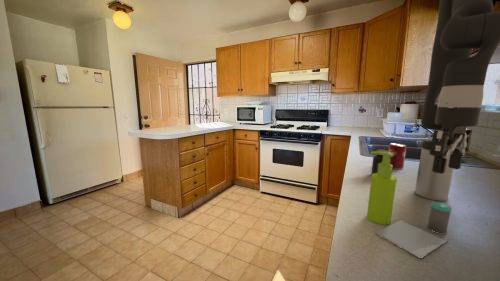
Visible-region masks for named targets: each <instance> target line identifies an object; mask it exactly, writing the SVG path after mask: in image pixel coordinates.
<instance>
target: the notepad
mask: <svg viewBox="0 0 500 281" xmlns="http://www.w3.org/2000/svg"><path fill="white" fill-rule="evenodd" d="M376 234H378V235H380V236H382V237H383V238H386V239H387V240H389V241H391V242H393V243H395V244H397V245H399V246H401V247H402V248H405V249H406V250H408V251H411V252H413V251H414V250H416V249H417V250H419V249H420V248H421V249H422V248H426V247H427V248H428V245H429V247H431V245H434V247H435V245H436V247H437V245H438V246H439V245H440V244H442V243H443V242H445V241H446V240H448V241H449V239H448V238H447V237H444V236H442V235H441V234H438V233H435V232H432V231H431V230H429V229H428V228H424V227H422V226H419V225H417V224H415V223H413V222H410V221H409V220H406V219H404V218H402V219H400V220H399V221H396V222H394V223H392V224H389V225H387V226H385V227H384V228H381V229H379V230H377V231H375V235H376ZM378 235H377V236H378ZM380 236H379V237H380ZM383 238H382V239H383ZM387 240H386V241H387ZM417 250H416V251H417Z"/></svg>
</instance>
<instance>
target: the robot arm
mask: <svg viewBox="0 0 500 281" xmlns="http://www.w3.org/2000/svg"><path fill="white" fill-rule="evenodd" d="M437 17H438V18H437V24H436V30H435V34H434V40H433V46H432V50H431V59H430V66H429V67H430V68H429V76H428V77H429V78H428V82H427V88H426V94H425V98H424V103H423V107H422V112H421V118H420V125H421V128H422V129H424V130H433V135H432V138H428V139H424V140H423V142H422V143H421V151H420V158H419V161H418V162H419V164H418V170H417V176H416V181H415V187H414V193H415V194H416V195H418V196H420V197H422V198H425V199H429V200H432V201H437V202H438V201H439V202H440V201H441V202H442V201H445V202H446V201H447V200H448V199H449V195H450V190H451V185H452V178H453V173H454V170H459V169H461V167H462V162H463V157H464V156H465V155H466V153H468V152H469V151H470V144H471V138H472V132H473V129H471V128H473V127H476V126H478V124H479V119H480V114H481V109H482V104H483V100H484V87H485V83H486V82H485V81H486V77H487V73H488V68H489V64H490V63H491V60H492V57H493V56H494V54H495V52H496V50H497V48H498V46H499V44H500V11H494V5H493V0H439V4H438V16H437ZM473 49H478V50H477V53H476V54H474V55H471V54H472V53H471V52H472V50H473ZM437 99H438V102H437ZM469 128H470V129H469Z"/></svg>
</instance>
